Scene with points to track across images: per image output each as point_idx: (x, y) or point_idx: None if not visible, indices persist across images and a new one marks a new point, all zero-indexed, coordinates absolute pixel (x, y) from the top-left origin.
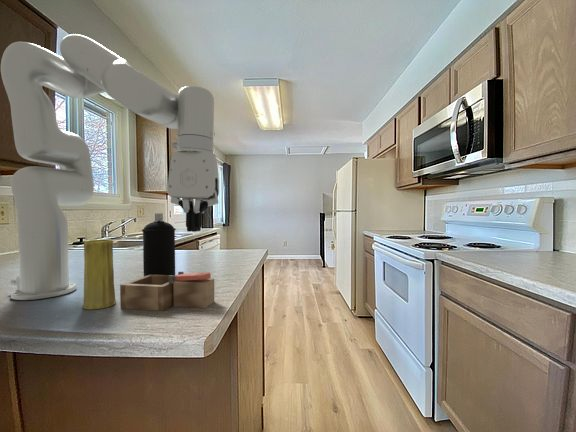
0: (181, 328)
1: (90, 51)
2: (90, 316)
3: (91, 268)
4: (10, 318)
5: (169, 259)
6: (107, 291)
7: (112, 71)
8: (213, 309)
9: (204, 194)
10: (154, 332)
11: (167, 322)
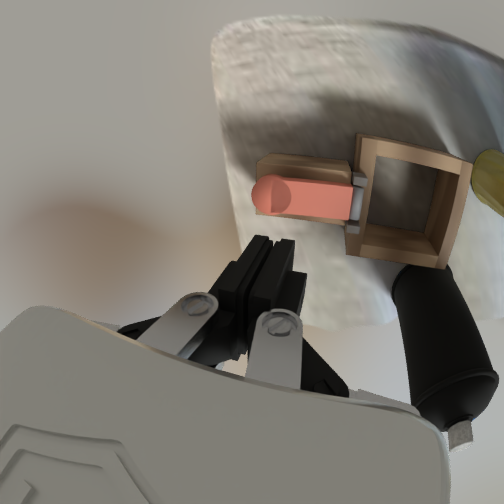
0: (267, 51)
1: None
2: (473, 112)
3: None
4: None
5: (413, 323)
6: (490, 172)
7: None
8: (251, 148)
9: (39, 319)
10: (307, 31)
11: (311, 72)
